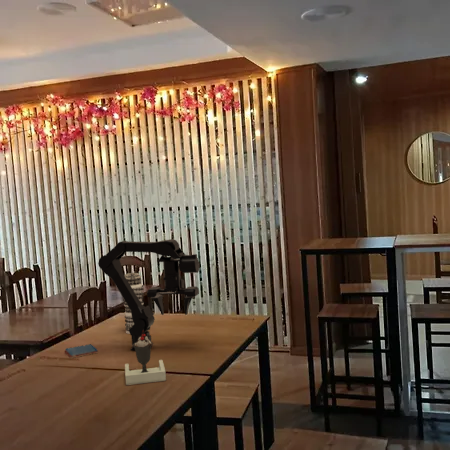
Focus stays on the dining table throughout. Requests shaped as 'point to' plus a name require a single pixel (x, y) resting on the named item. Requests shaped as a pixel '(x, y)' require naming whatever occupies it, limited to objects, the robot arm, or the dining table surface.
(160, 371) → the end cap
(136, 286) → the decorative candle
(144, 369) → the sundae
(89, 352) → the woven mat
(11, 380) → the dining table surface
